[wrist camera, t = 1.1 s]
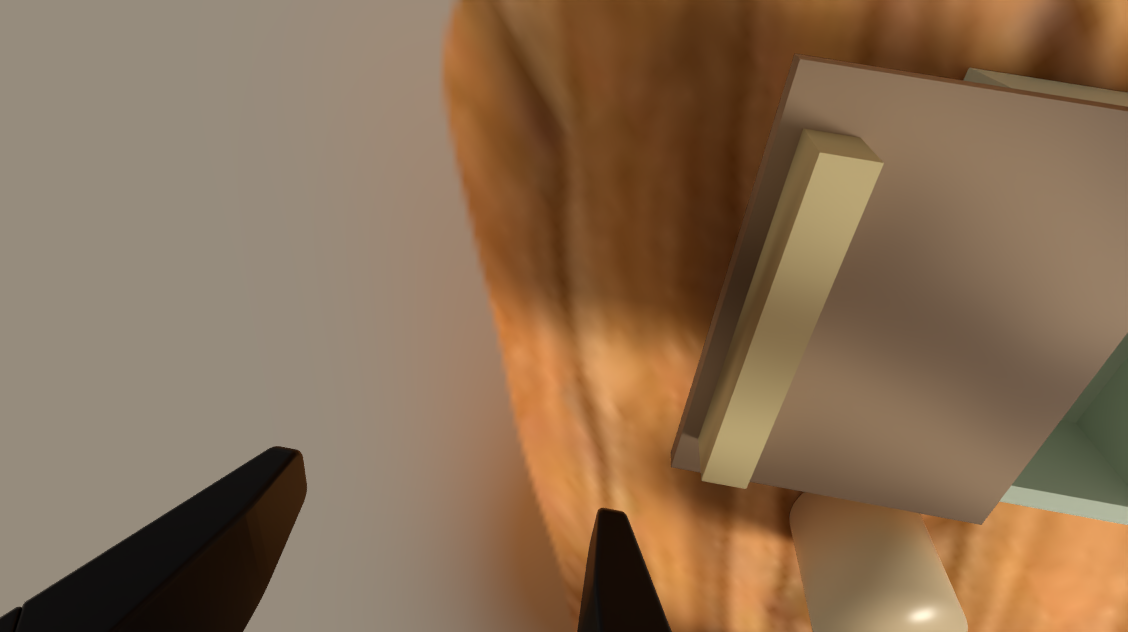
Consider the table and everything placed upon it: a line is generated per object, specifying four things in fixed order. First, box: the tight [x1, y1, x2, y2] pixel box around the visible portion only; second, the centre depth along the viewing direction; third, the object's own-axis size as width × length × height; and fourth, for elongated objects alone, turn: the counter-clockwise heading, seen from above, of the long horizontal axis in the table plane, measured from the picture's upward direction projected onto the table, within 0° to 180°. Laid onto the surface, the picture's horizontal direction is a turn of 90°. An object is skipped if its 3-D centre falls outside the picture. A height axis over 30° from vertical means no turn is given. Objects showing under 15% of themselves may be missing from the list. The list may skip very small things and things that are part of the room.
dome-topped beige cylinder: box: [789, 492, 968, 632], centre depth 24 cm, size 5×5×5 cm
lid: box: [671, 54, 1128, 525], centre depth 15 cm, size 12×9×2 cm
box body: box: [964, 68, 1128, 525], centre depth 18 cm, size 11×9×4 cm
